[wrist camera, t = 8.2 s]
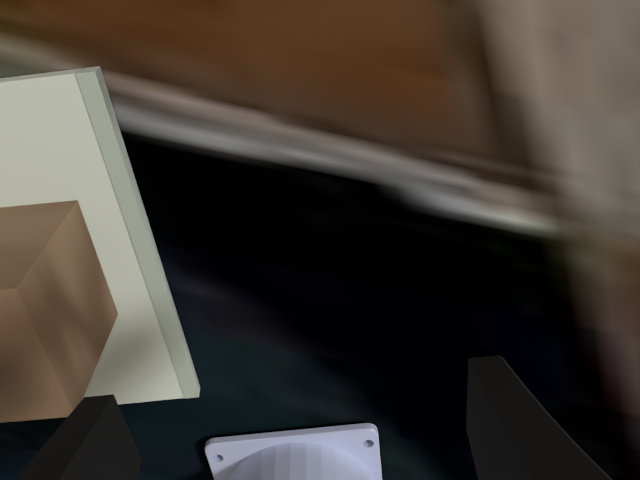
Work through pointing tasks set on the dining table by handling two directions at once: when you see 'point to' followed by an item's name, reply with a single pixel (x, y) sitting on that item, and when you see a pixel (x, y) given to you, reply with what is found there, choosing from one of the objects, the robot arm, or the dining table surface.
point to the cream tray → (97, 222)
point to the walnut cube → (49, 310)
